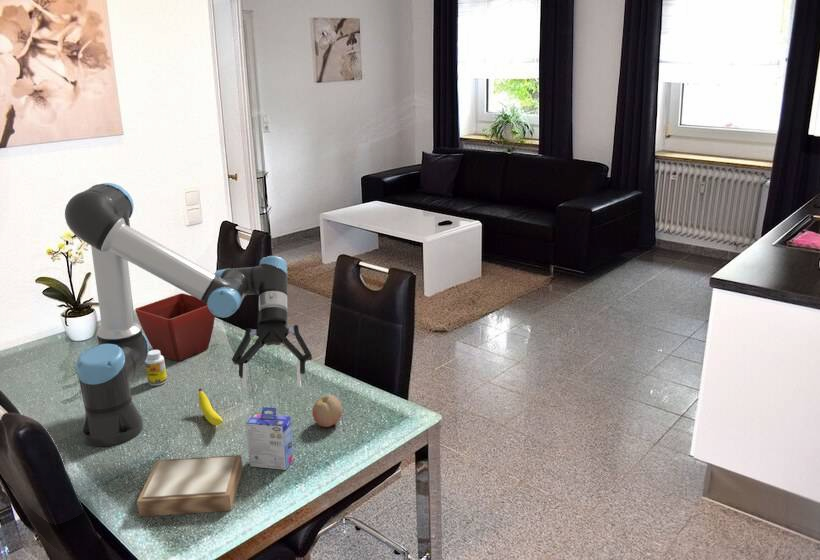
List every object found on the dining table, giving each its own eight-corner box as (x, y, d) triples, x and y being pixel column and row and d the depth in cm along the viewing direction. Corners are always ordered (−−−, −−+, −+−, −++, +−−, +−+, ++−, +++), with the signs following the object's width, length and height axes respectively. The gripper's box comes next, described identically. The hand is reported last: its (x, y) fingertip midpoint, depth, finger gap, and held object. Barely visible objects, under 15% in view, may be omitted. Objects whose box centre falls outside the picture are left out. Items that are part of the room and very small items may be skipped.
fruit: (310, 420, 190) (307, 394, 188) (337, 414, 193) (336, 388, 191) (318, 434, 183) (315, 407, 181) (347, 427, 186) (345, 401, 184)
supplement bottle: (144, 384, 214) (139, 354, 211) (156, 377, 219) (152, 347, 216) (159, 387, 212) (154, 356, 209) (171, 379, 217) (166, 349, 214)
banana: (218, 438, 183) (215, 417, 181) (197, 409, 198) (194, 389, 196) (228, 435, 184) (226, 414, 182) (207, 406, 200) (204, 387, 198)
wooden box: (139, 516, 153) (136, 500, 152) (159, 474, 168) (156, 459, 167) (231, 510, 154) (229, 494, 153) (242, 469, 169) (240, 453, 168)
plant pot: (188, 336, 250) (181, 292, 245) (223, 347, 239) (217, 301, 234) (141, 355, 236) (133, 308, 230) (176, 368, 225) (169, 320, 219)
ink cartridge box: (295, 458, 173) (290, 406, 169) (287, 471, 168) (282, 418, 163) (258, 454, 175) (252, 403, 170) (249, 467, 170) (243, 415, 165)
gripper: (222, 308, 181) (218, 386, 172) (318, 302, 183) (320, 380, 173) (228, 319, 188) (225, 395, 178) (321, 314, 189) (322, 389, 180)
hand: (272, 388), depth 176 cm, fingers open, 13 cm apart
